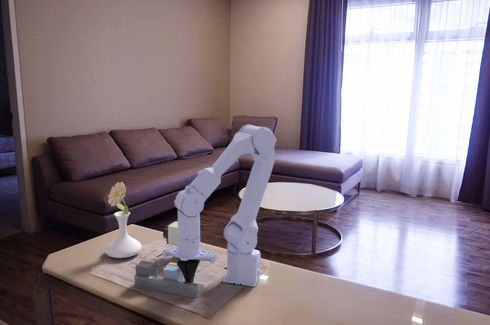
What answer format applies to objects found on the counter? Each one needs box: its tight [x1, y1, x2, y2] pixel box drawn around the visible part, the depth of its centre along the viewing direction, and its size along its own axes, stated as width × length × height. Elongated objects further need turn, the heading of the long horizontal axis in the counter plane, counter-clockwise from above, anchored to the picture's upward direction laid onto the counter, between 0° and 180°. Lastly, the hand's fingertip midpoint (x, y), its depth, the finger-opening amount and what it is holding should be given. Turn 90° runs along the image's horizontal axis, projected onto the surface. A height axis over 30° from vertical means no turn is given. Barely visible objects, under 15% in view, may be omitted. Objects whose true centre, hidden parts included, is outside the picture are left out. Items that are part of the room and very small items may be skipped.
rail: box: [134, 258, 205, 298], centre depth 97 cm, size 18×5×6 cm, turn 76°
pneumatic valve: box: [162, 220, 203, 259], centre depth 115 cm, size 6×12×12 cm, turn 70°
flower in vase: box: [104, 181, 143, 259], centre depth 114 cm, size 13×11×25 cm
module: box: [162, 262, 184, 282], centre depth 97 cm, size 4×4×5 cm
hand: (189, 283), depth 96 cm, fingers closed
